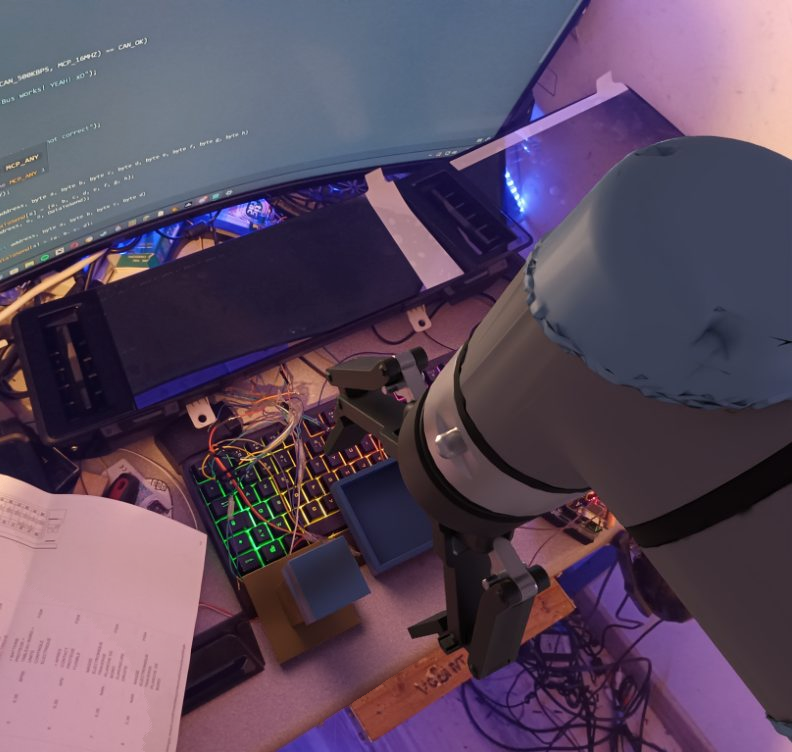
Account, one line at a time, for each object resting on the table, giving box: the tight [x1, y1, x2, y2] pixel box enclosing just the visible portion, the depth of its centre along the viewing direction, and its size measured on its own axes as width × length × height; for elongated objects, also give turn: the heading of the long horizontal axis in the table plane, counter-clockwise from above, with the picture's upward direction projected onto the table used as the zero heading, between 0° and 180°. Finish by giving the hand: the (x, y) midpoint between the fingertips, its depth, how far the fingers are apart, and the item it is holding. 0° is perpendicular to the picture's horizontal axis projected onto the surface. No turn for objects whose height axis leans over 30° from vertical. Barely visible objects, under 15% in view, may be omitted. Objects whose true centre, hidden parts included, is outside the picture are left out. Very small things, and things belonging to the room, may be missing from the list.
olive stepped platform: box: [241, 539, 361, 665], centre depth 67 cm, size 9×9×12 cm
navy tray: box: [329, 456, 433, 578], centre depth 76 cm, size 10×10×3 cm
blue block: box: [282, 535, 372, 625], centre depth 59 cm, size 5×5×5 cm
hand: (381, 531), depth 51 cm, fingers open, 13 cm apart
